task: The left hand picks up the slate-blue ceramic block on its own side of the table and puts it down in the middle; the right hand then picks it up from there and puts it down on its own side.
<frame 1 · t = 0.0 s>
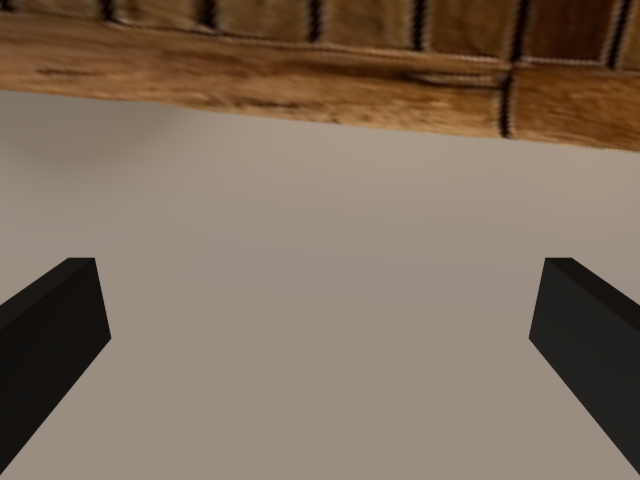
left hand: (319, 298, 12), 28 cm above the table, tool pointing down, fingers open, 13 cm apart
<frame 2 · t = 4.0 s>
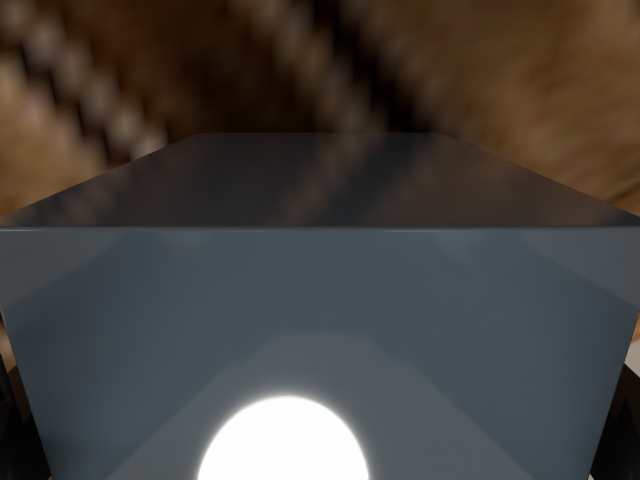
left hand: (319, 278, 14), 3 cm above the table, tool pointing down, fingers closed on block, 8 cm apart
block: (320, 249, 16), on the table, touching left hand
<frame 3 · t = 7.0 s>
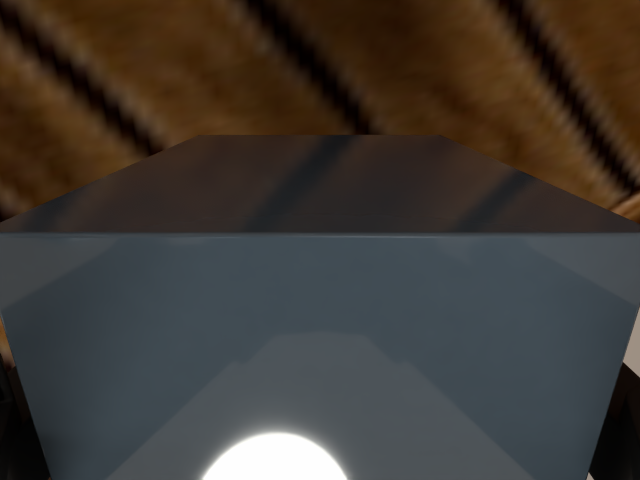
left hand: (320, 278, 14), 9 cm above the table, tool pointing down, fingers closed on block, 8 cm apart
block: (319, 251, 16), point 7 cm above the table, touching left hand
when the left hand's fingers open (4 cm above the table, at t = 10.3 s): block drops 1 cm, on the table.
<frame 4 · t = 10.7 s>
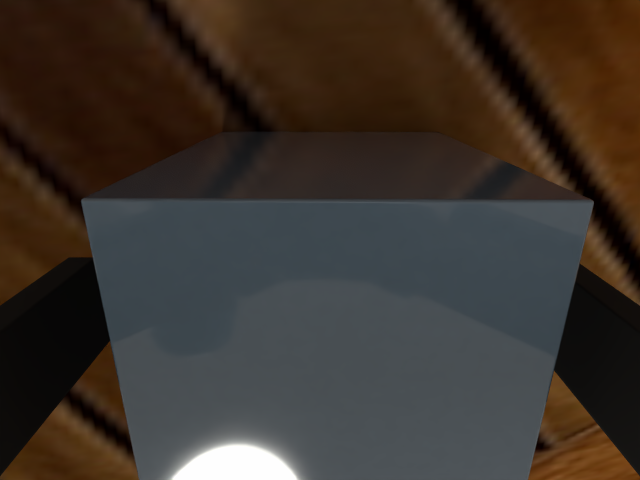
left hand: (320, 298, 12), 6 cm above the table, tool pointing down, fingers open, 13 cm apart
block: (329, 236, 18), on the table
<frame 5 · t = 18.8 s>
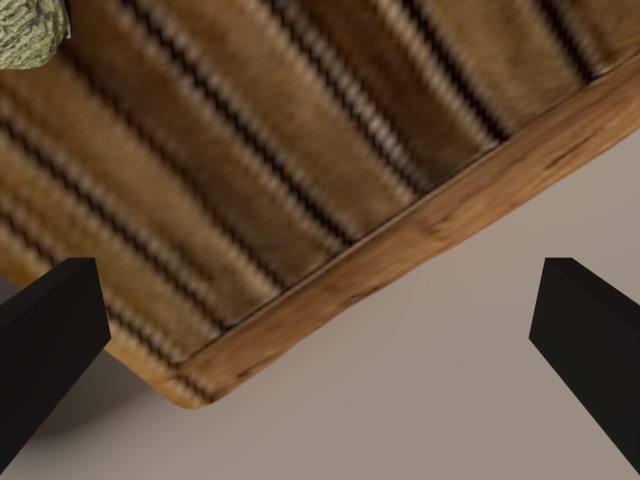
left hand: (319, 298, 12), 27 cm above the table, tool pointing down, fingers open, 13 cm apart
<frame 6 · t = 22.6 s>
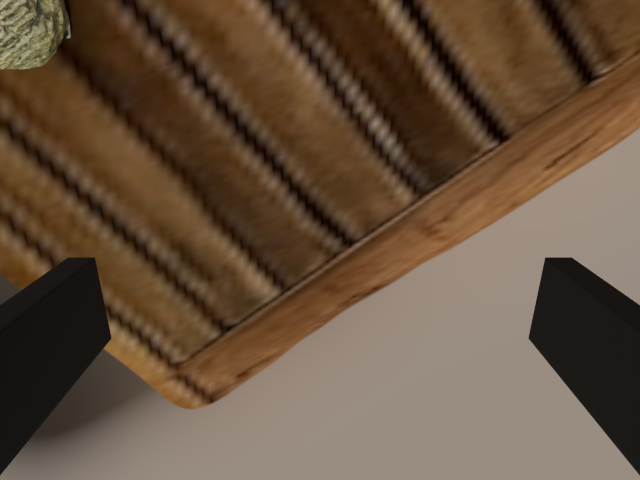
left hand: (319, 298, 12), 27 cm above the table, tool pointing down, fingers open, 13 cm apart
when the right hand's fingers open (4 cm above the table, at t = 26.3 s): block drops 1 cm, on the table.
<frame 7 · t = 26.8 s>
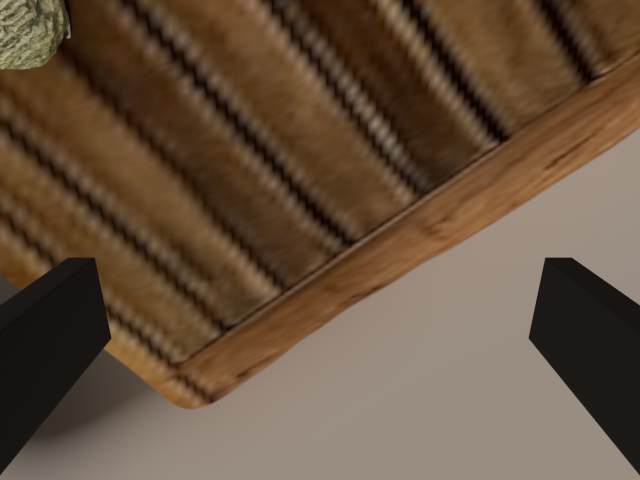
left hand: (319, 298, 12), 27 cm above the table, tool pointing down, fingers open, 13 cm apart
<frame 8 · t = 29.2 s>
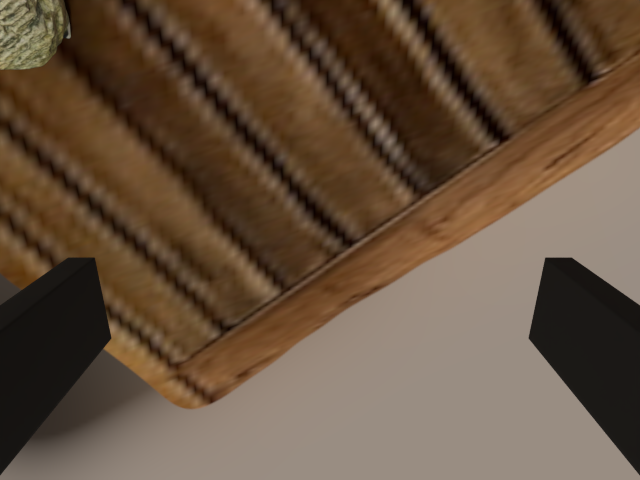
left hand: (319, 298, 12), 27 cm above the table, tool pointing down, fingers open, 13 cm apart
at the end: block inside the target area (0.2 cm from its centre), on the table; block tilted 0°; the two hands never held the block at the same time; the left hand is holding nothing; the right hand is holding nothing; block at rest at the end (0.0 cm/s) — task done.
